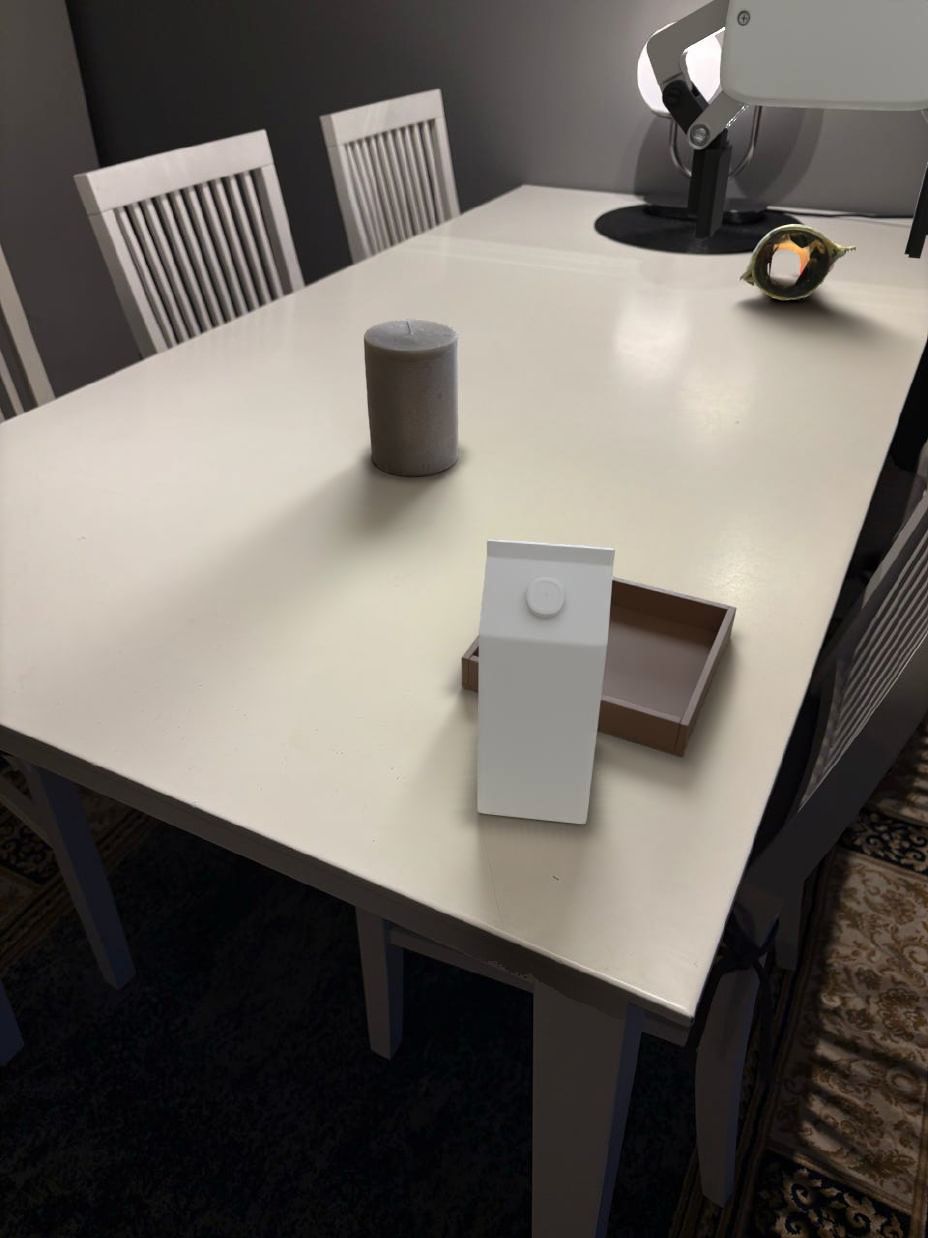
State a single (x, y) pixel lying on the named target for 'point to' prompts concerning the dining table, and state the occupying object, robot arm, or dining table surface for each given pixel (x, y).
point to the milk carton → (541, 677)
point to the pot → (812, 253)
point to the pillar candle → (412, 396)
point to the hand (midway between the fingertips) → (806, 241)
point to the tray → (652, 663)
